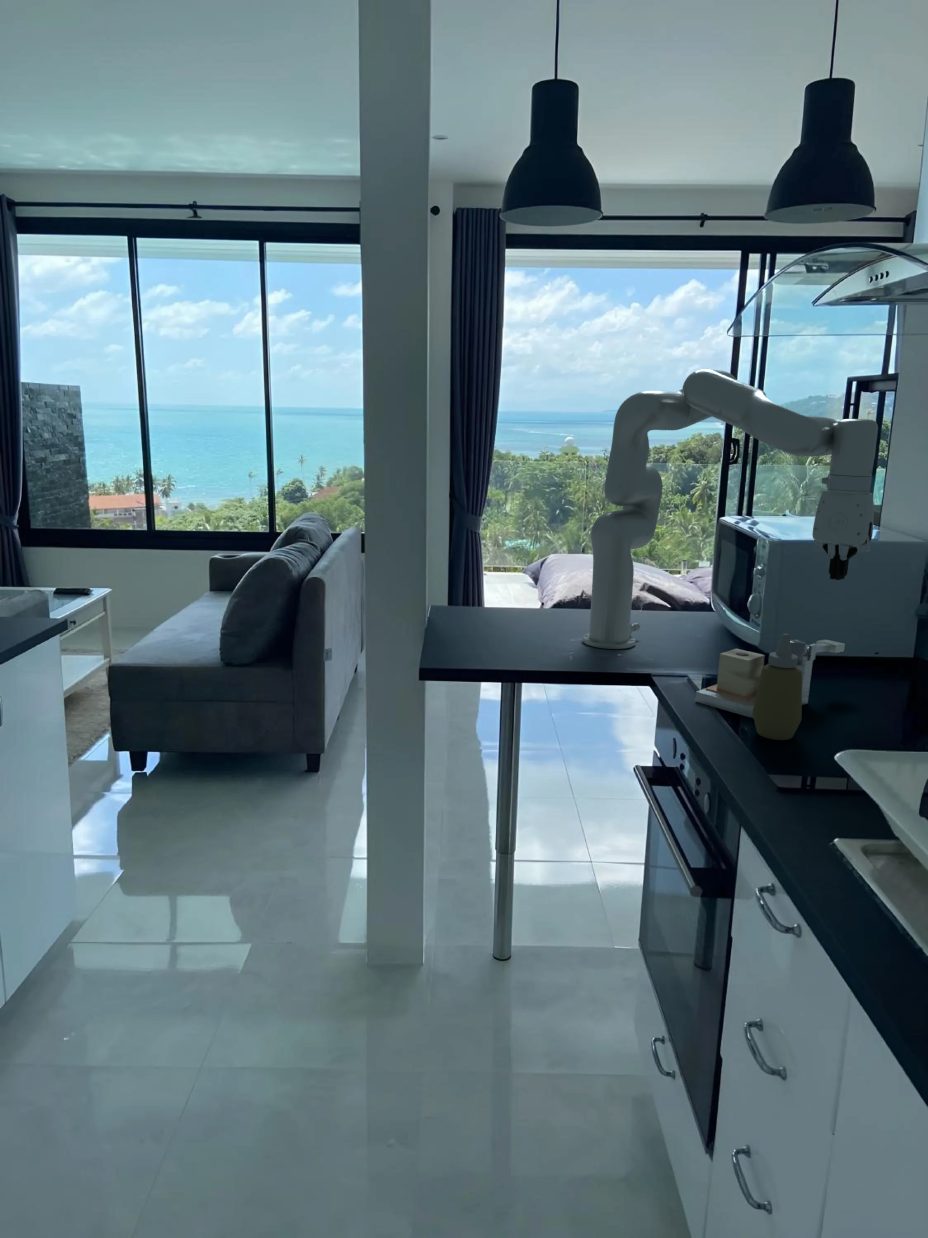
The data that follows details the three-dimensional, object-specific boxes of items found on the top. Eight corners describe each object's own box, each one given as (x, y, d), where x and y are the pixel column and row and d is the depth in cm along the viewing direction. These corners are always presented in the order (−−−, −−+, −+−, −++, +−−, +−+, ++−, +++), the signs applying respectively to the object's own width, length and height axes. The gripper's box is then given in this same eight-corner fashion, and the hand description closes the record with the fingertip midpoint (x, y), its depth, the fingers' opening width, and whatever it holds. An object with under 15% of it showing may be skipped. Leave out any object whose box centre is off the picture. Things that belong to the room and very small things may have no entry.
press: (739, 685, 178) (745, 628, 175) (810, 703, 167) (817, 643, 165) (695, 701, 167) (700, 641, 164) (768, 722, 156) (775, 658, 154)
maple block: (732, 682, 172) (736, 648, 170) (760, 690, 168) (764, 654, 166) (716, 688, 168) (719, 653, 166) (744, 696, 164) (748, 660, 162)
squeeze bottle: (768, 745, 145) (780, 641, 141) (740, 728, 153) (751, 629, 149) (809, 741, 148) (822, 639, 143) (780, 725, 155) (791, 627, 151)
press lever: (822, 652, 177) (825, 633, 176) (843, 657, 174) (847, 638, 173) (773, 660, 163) (776, 640, 162) (795, 666, 160) (799, 644, 159)
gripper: (802, 482, 169) (791, 575, 173) (880, 488, 159) (867, 587, 163) (820, 481, 174) (809, 571, 178) (897, 487, 164) (883, 582, 168)
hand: (837, 578), depth 171 cm, fingers closed
